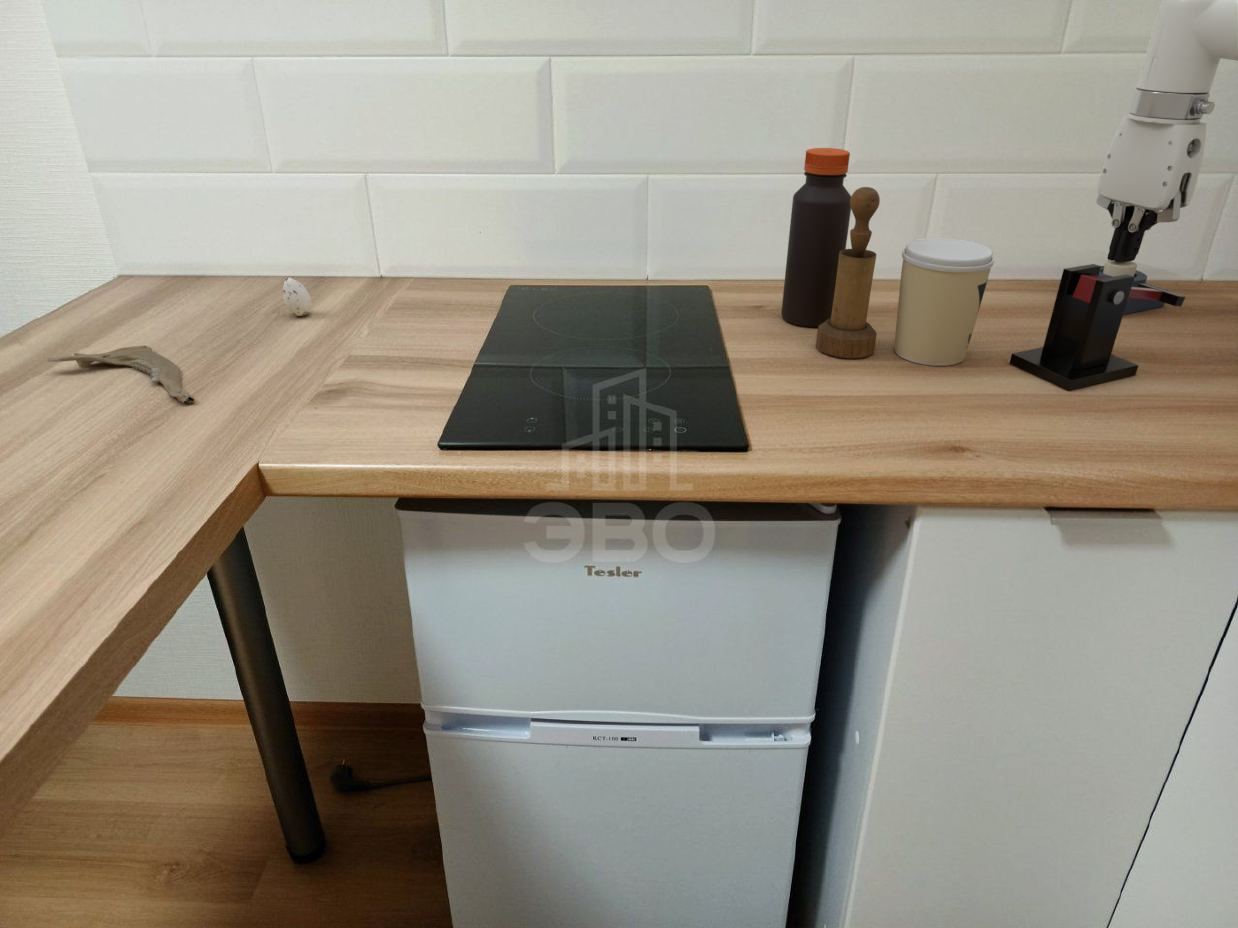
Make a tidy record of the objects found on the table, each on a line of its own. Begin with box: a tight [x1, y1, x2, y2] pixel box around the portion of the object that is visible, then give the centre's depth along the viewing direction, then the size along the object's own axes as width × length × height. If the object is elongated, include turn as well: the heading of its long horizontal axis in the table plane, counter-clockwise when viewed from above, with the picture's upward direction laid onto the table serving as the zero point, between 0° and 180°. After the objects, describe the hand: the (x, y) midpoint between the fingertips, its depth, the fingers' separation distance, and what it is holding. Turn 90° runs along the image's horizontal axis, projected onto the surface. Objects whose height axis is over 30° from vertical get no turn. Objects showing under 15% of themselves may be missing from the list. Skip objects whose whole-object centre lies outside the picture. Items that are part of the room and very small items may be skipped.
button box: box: [1099, 265, 1169, 316], centre depth 112 cm, size 10×8×4 cm
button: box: [1103, 259, 1138, 277], centre depth 111 cm, size 4×4×2 cm
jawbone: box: [46, 345, 196, 404], centre depth 92 cm, size 9×20×2 cm, turn 66°
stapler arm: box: [1072, 275, 1186, 307], centre depth 92 cm, size 13×5×2 cm, turn 114°
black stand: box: [1009, 263, 1139, 392], centre depth 91 cm, size 10×8×11 cm
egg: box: [282, 276, 312, 317], centre depth 107 cm, size 3×3×5 cm
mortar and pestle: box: [815, 186, 881, 359], centre depth 94 cm, size 7×6×18 cm
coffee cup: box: [894, 237, 995, 367], centre depth 95 cm, size 9×9×12 cm
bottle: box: [781, 147, 852, 328], centre depth 103 cm, size 7×7×20 cm
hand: (1120, 259), depth 110 cm, fingers closed
